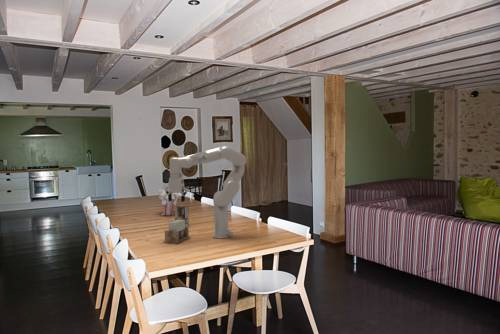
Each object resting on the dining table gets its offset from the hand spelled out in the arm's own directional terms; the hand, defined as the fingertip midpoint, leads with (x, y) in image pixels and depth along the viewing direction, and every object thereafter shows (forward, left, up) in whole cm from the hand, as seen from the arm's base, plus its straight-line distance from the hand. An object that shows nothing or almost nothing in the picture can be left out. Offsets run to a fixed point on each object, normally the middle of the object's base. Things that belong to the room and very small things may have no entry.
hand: (176, 201), depth 245 cm
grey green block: (0, +1, -19) cm, 19 cm away
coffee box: (+18, -36, -27) cm, 48 cm away
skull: (+53, -74, -27) cm, 95 cm away
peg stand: (0, +1, -26) cm, 26 cm away
